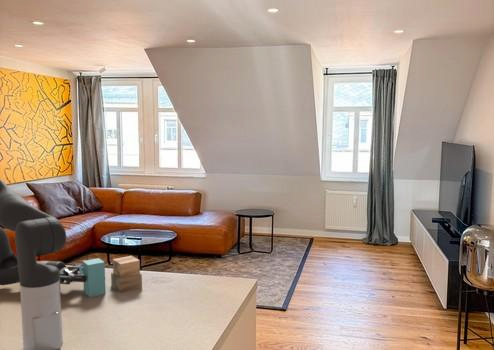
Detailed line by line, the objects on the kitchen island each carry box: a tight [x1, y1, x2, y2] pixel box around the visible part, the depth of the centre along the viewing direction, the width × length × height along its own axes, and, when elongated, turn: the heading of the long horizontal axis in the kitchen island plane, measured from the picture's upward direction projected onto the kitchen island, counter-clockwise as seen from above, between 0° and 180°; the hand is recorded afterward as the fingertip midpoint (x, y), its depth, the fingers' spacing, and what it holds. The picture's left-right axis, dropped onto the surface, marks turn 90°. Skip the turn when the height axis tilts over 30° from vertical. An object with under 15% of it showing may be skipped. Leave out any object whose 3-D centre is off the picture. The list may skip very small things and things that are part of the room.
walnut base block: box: [110, 271, 143, 293], centre depth 155 cm, size 8×8×5 cm
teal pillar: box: [82, 257, 107, 298], centre depth 149 cm, size 6×6×11 cm
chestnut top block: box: [112, 255, 141, 278], centre depth 154 cm, size 7×7×5 cm
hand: (92, 274), depth 148 cm, fingers open, 8 cm apart
